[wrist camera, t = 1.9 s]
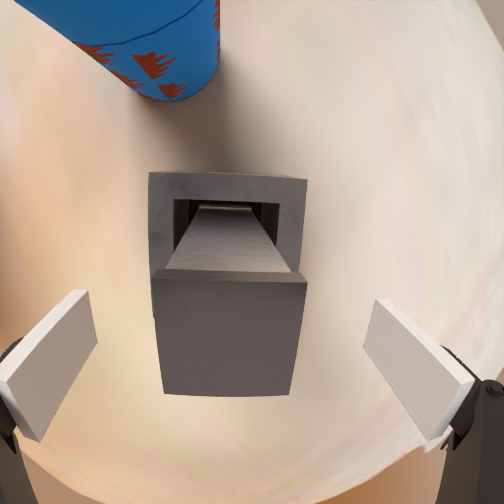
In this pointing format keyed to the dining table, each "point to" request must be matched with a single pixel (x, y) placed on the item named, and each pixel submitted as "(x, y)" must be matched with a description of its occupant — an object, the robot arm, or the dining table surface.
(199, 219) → the column
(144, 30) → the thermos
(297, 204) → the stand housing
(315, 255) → the dining table surface
